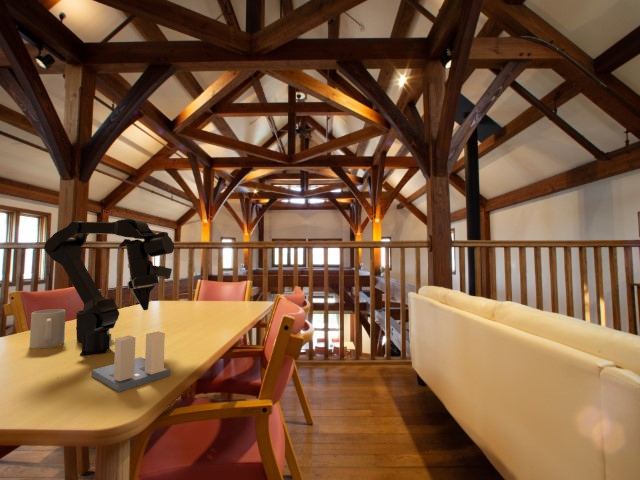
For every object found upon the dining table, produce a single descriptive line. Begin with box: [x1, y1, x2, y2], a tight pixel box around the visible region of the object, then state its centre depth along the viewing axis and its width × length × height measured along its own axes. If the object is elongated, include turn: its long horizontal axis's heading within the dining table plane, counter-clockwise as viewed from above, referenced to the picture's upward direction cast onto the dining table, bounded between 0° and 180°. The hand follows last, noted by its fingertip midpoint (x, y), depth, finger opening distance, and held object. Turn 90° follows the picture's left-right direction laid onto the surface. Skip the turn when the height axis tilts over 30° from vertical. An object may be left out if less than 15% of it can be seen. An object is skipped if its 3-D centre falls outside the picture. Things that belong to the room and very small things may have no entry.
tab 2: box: [144, 330, 166, 374], centre depth 74 cm, size 3×3×9 cm
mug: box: [29, 308, 66, 350], centre depth 98 cm, size 12×8×11 cm
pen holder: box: [75, 309, 84, 344], centre depth 106 cm, size 9×9×10 cm
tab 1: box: [113, 335, 136, 381], centre depth 70 cm, size 3×3×9 cm
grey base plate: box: [91, 356, 171, 393], centre depth 75 cm, size 15×12×2 cm
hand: (145, 310), depth 92 cm, fingers closed
